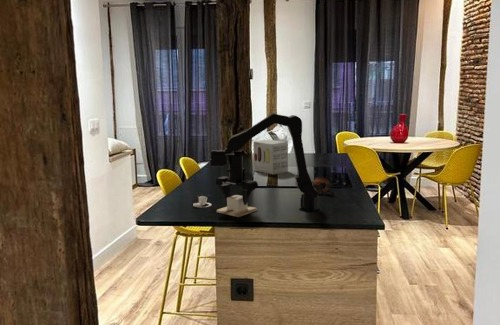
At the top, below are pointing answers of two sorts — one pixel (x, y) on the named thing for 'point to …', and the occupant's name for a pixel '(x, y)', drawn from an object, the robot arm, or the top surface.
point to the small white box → (235, 203)
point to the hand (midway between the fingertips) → (236, 203)
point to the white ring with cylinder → (202, 202)
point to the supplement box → (271, 156)
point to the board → (236, 213)
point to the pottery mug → (321, 185)
